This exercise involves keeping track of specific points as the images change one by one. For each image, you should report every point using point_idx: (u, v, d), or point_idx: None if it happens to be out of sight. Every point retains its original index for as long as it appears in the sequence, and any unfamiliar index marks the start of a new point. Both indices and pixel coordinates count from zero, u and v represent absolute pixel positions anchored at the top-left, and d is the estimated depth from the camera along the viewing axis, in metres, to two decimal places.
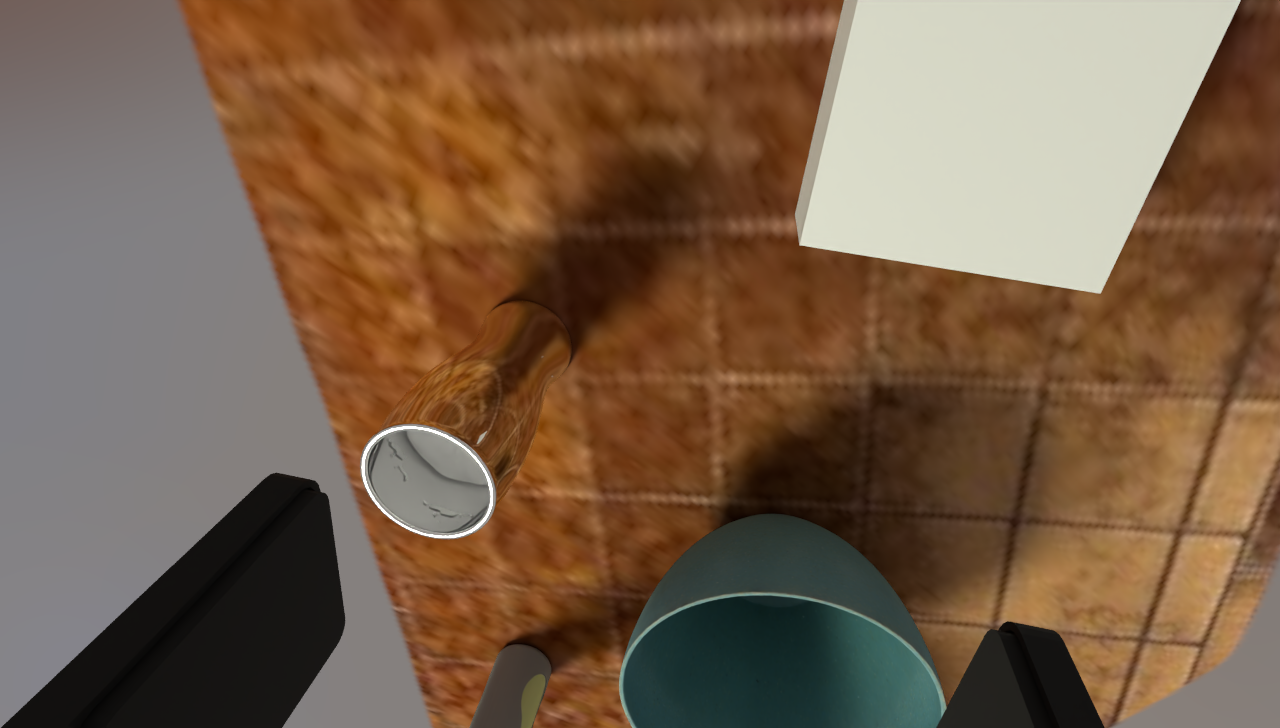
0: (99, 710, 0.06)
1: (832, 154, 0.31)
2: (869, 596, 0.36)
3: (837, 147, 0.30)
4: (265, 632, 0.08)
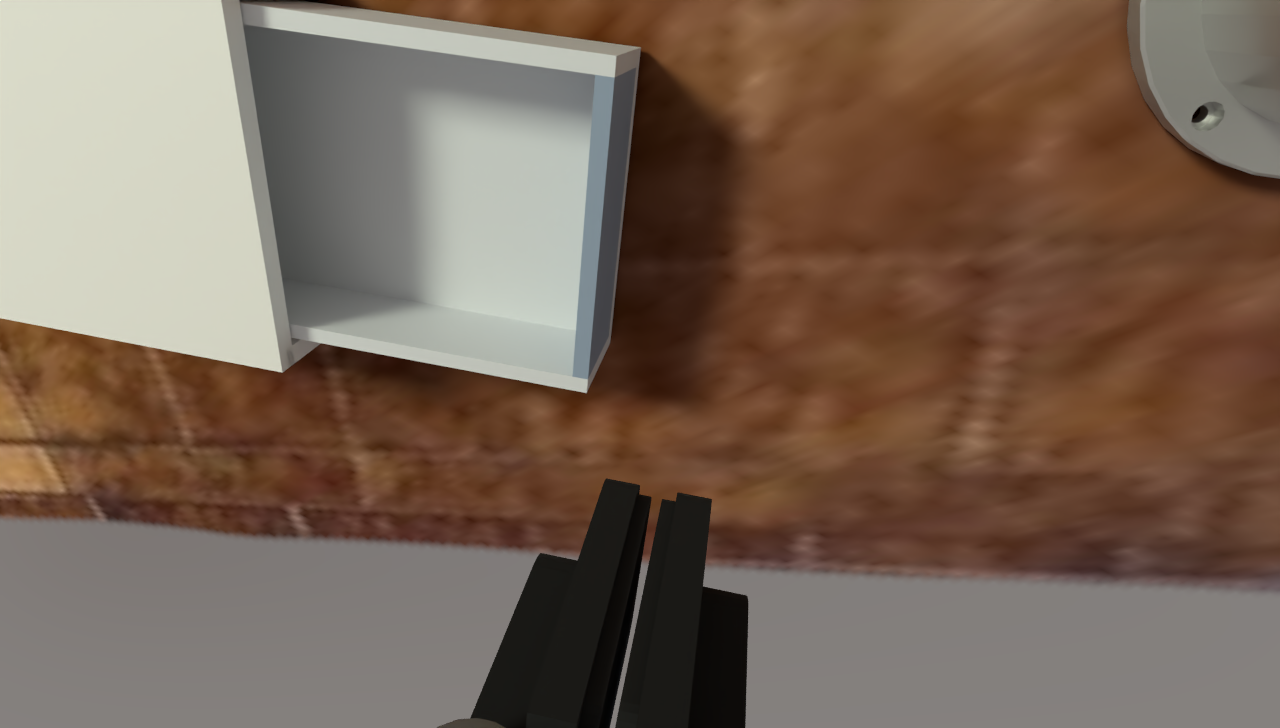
0: (590, 695, 0.07)
1: None
2: None
3: None
4: (626, 626, 0.09)
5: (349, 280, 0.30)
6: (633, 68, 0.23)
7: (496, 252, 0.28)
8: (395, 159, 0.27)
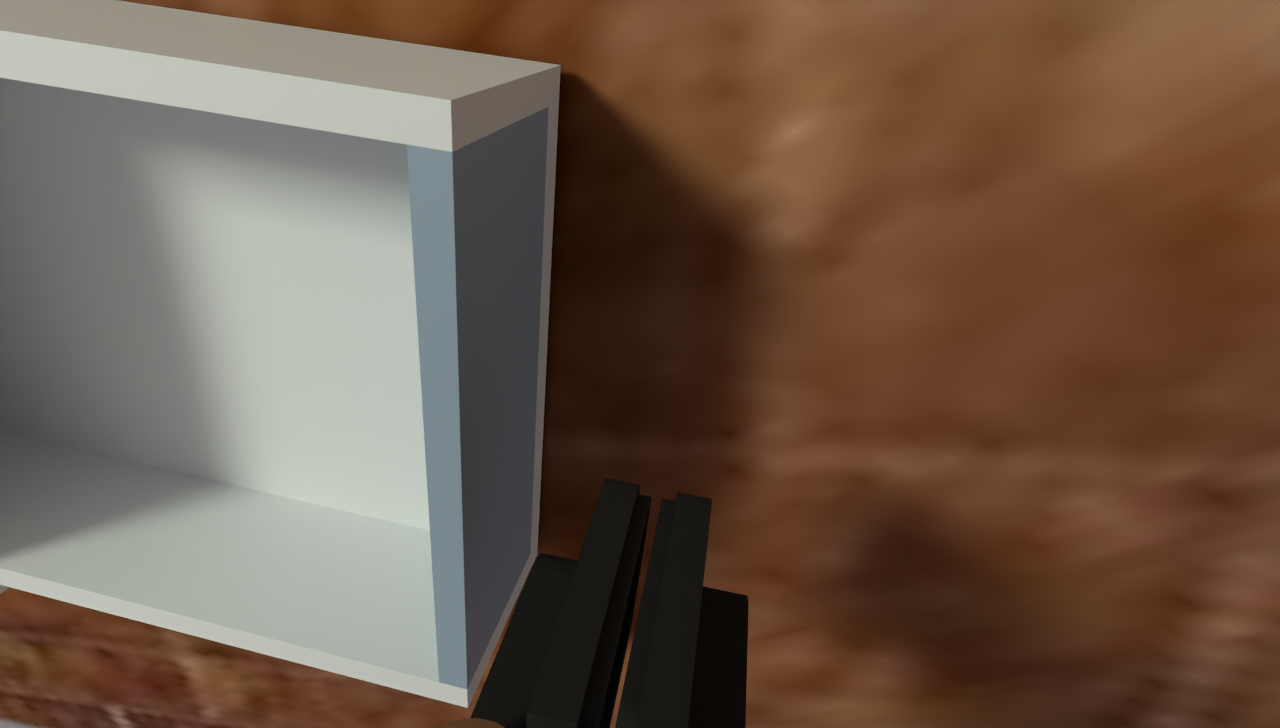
0: (590, 695, 0.07)
1: None
2: None
3: None
4: (626, 626, 0.09)
5: (108, 442, 0.18)
6: (538, 111, 0.11)
7: (331, 418, 0.16)
8: (138, 261, 0.15)
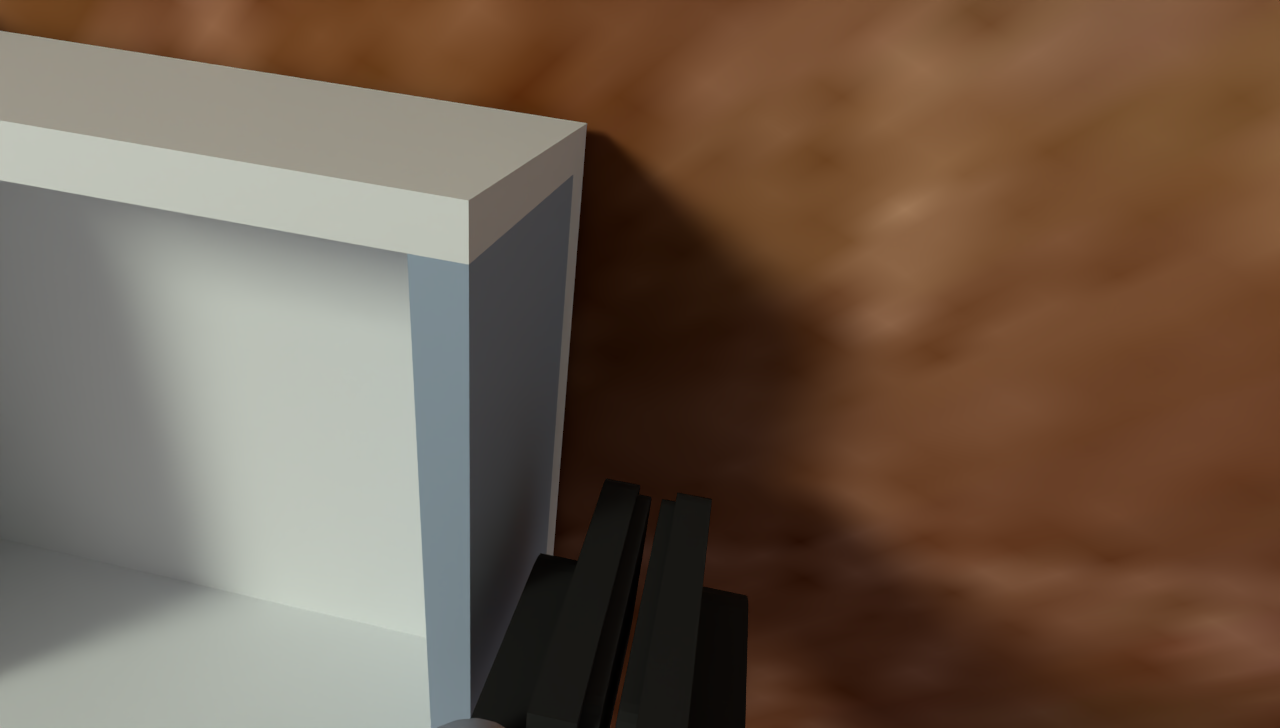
0: (590, 694, 0.07)
1: None
2: None
3: None
4: (626, 626, 0.09)
5: (46, 535, 0.16)
6: (563, 182, 0.09)
7: (306, 515, 0.14)
8: (77, 340, 0.13)
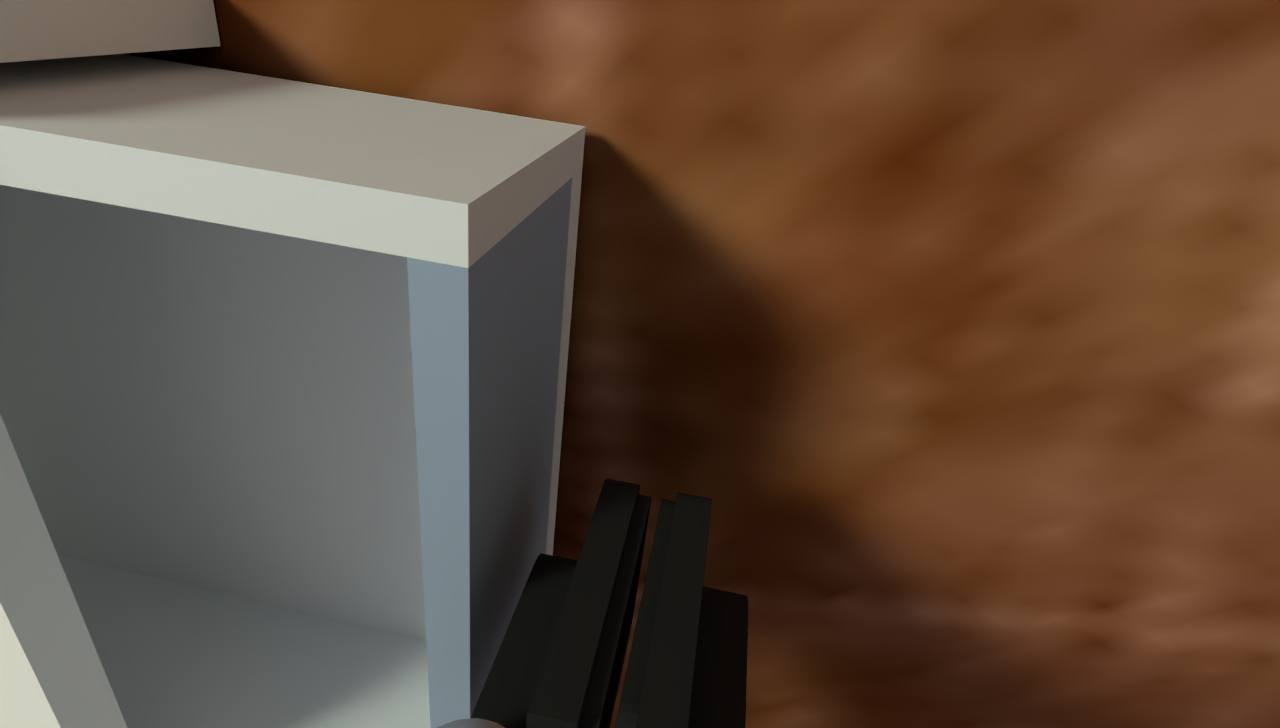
0: (590, 695, 0.07)
1: None
2: None
3: None
4: (626, 626, 0.09)
5: None
6: (562, 186, 0.09)
7: (306, 517, 0.14)
8: (76, 343, 0.13)
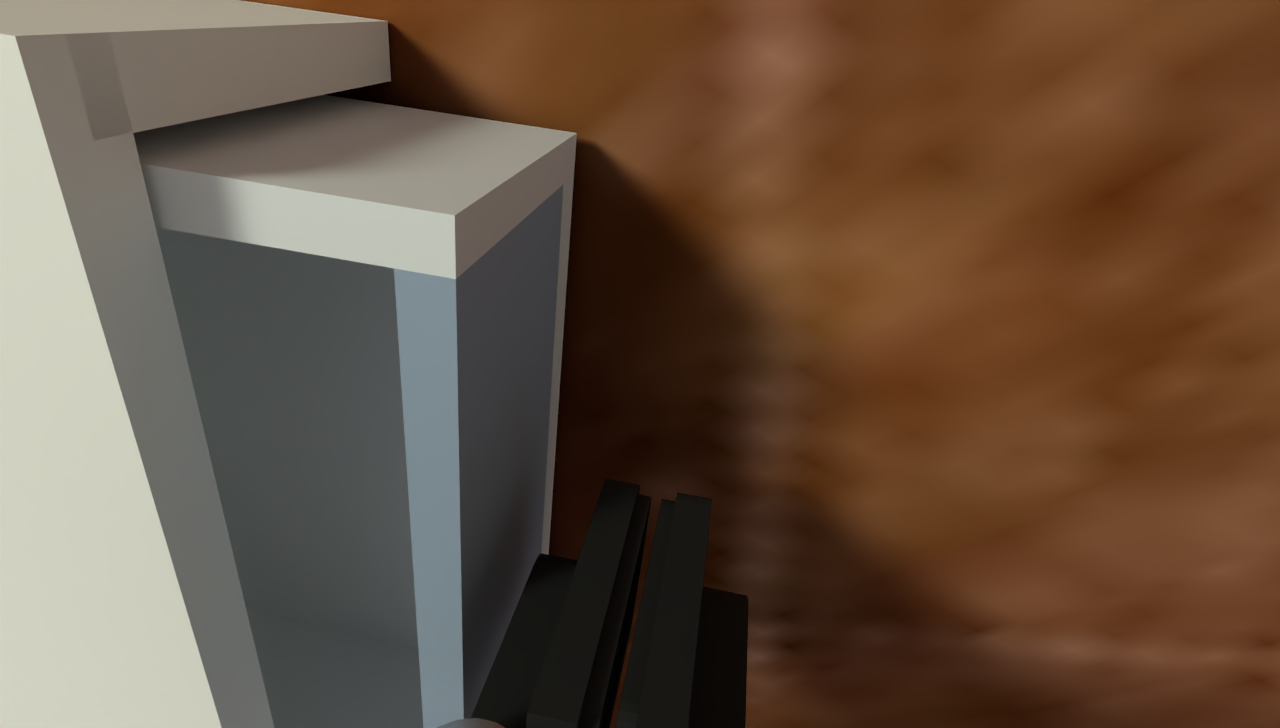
0: (590, 695, 0.07)
1: None
2: None
3: None
4: (626, 626, 0.09)
5: None
6: (552, 193, 0.09)
7: (300, 527, 0.14)
8: None
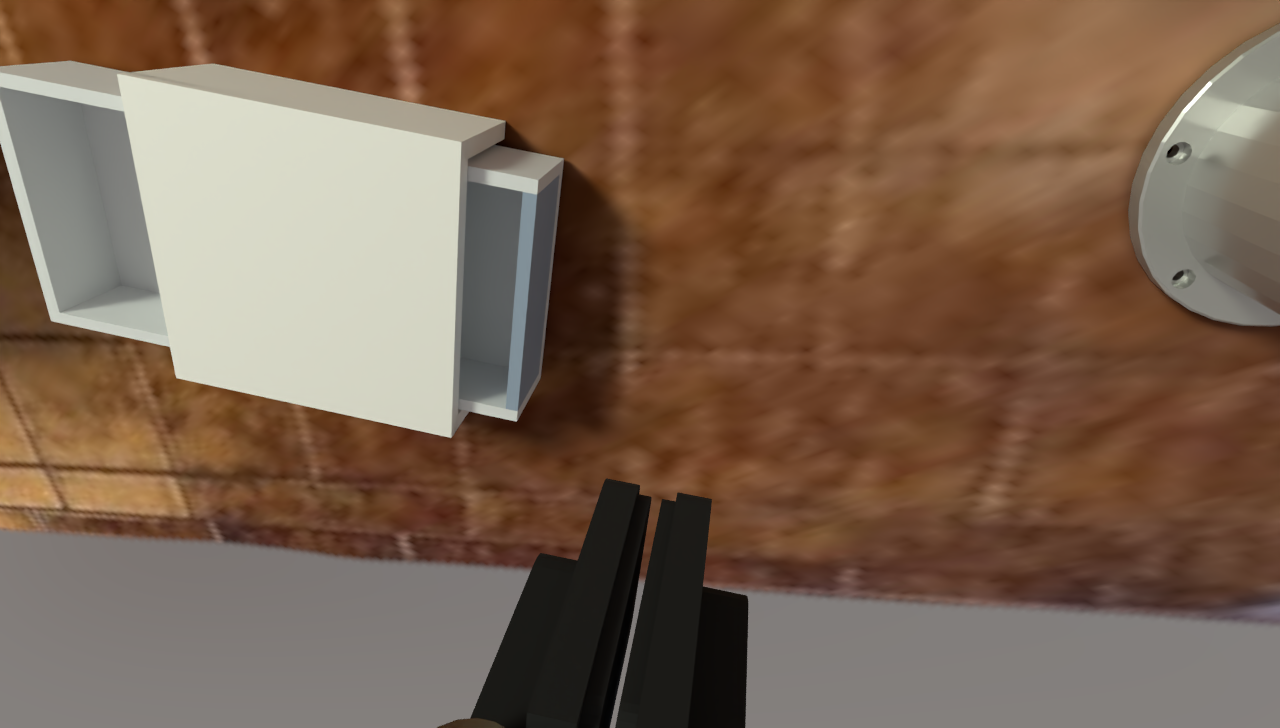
0: (590, 694, 0.07)
1: (224, 108, 0.27)
2: None
3: (232, 113, 0.27)
4: (626, 626, 0.09)
5: None
6: (556, 177, 0.30)
7: None
8: None
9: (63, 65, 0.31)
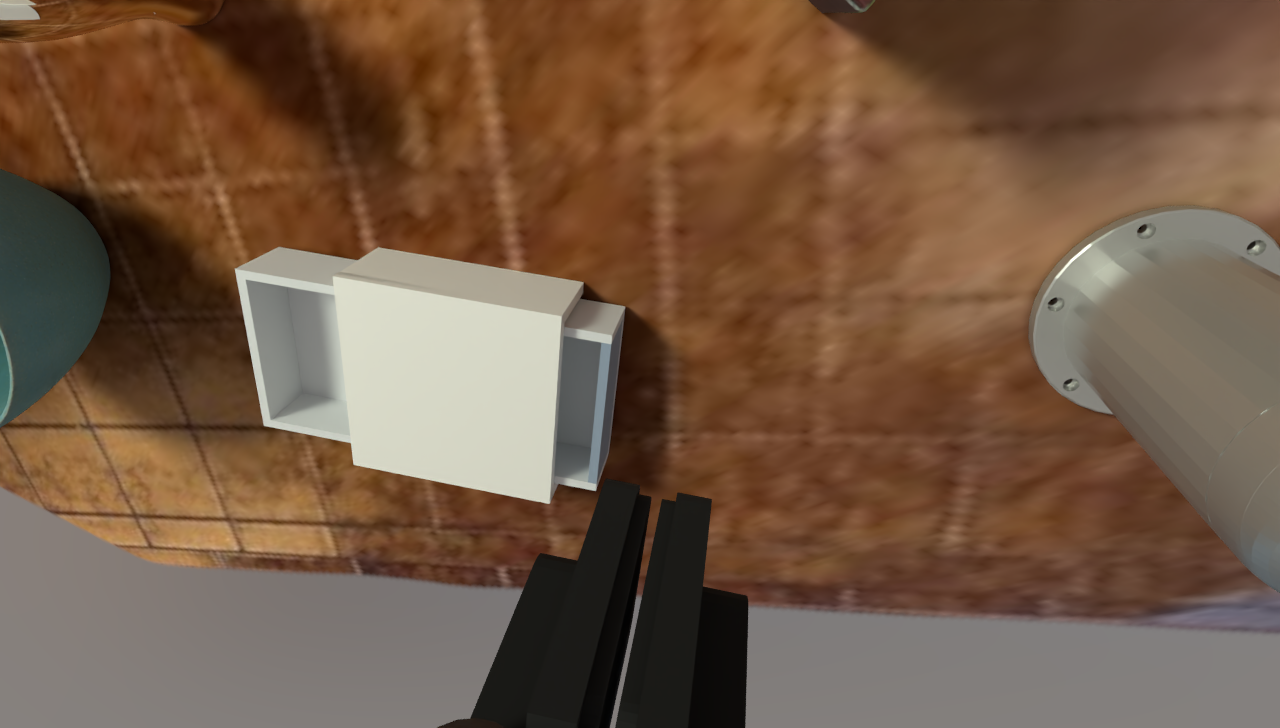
0: (590, 694, 0.07)
1: (402, 296, 0.40)
2: (38, 372, 0.41)
3: (408, 299, 0.40)
4: (626, 626, 0.09)
5: None
6: (621, 322, 0.43)
7: None
8: None
9: (278, 254, 0.45)
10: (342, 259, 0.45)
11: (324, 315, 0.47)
